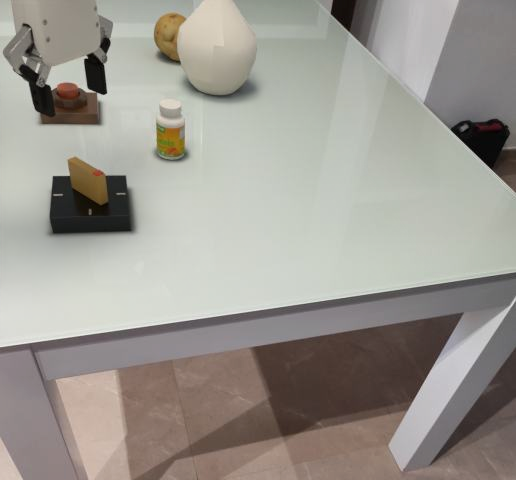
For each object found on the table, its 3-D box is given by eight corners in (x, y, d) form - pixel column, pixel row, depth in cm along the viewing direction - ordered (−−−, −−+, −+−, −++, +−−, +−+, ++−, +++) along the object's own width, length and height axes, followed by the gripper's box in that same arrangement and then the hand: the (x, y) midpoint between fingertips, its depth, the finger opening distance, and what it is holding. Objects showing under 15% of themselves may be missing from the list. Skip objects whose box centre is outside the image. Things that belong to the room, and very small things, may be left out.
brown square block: (42, 123, 103) (38, 103, 100) (44, 101, 109) (41, 82, 107) (98, 124, 106) (96, 104, 103) (98, 102, 112) (96, 83, 109)
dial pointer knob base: (52, 233, 80) (49, 216, 78) (55, 191, 88) (52, 174, 86) (131, 231, 83) (129, 214, 81) (127, 190, 91) (126, 174, 88)
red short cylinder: (57, 99, 103) (56, 90, 102) (58, 90, 106) (57, 81, 104) (78, 99, 104) (77, 90, 103) (78, 91, 107) (77, 82, 105)
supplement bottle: (152, 155, 100) (150, 105, 92) (164, 144, 103) (163, 94, 96) (177, 163, 99) (177, 113, 92) (189, 151, 102) (189, 102, 95)
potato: (188, 48, 139) (189, 6, 132) (197, 67, 132) (199, 23, 124) (151, 47, 137) (149, 4, 129) (157, 66, 129) (156, 21, 122)
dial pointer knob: (71, 187, 84) (66, 157, 80) (79, 184, 85) (74, 154, 81) (100, 205, 82) (97, 175, 78) (108, 201, 83) (105, 172, 79)
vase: (266, 88, 127) (284, -61, 105) (223, 111, 116) (234, -51, 94) (207, 66, 133) (213, -81, 111) (161, 85, 122) (157, -74, 100)
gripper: (78, -68, 64) (96, 76, 77) (-42, -50, 53) (1, 114, 66) (125, -54, 62) (135, 92, 75) (10, -33, 51) (44, 133, 64)
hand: (72, 102), depth 70 cm, fingers open, 9 cm apart
